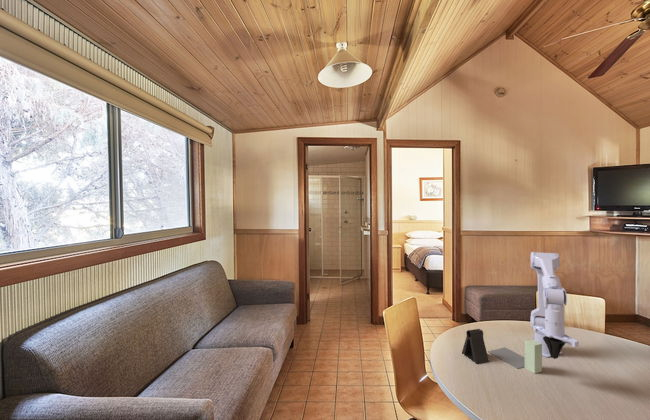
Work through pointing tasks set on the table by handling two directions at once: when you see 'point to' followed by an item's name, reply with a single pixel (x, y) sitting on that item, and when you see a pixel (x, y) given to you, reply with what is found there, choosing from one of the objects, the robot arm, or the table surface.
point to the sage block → (533, 356)
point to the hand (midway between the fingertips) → (554, 357)
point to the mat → (509, 357)
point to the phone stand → (475, 346)
